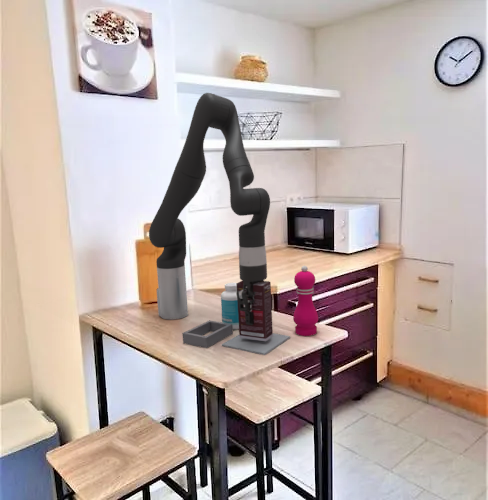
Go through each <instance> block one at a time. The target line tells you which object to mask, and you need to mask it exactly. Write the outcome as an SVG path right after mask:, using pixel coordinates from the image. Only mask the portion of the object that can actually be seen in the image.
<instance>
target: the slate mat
mask: <svg viewBox="0 0 488 500" xmlns="http://www.w3.org/2000/svg"><path fill="white" fill-rule="evenodd" d="M290 339H291V335H285V334H278V333H273V336H272V337H271V338H270V339H269V340H267V341H259V340H252V339H245V338H240V337H239V334H237V335H236V336H234V337H232V338H230V339H229V340H227V341H225V342H223V343H221V347H223V348H224V347H225V348H230V349H233V350H238V351H244V352H247V353H253V354H257V355H263V356H266V355H267V354H269V353H270V352H273V351H274V350H275V349H277V348H278V347H279V346H281V345H282V344H284V343H285V342H287V341H288V340H290Z"/></svg>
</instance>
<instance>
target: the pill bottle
mask: <svg viewBox="0 0 488 500" xmlns="http://www.w3.org/2000/svg"><path fill="white" fill-rule="evenodd" d="M236 283H237V282H227V283H225V284H224V289H225V290H223V291H222V293H221V294H220V302H221V303H220V304H221V307H220V308H221V322H222V323H228V324H232V329H233V330H239V319H238V302H237V294H236V293H237V284H236Z"/></svg>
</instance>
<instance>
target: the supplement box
mask: <svg viewBox="0 0 488 500" xmlns="http://www.w3.org/2000/svg"><path fill="white" fill-rule="evenodd" d="M265 281H266V280H264V281H260V282H257V283H255V284H253V292H256V293H255V304H254V308H253V316H254V324H253V325H247V324H246V322H245V312H244V311H240V309H239V304H238V319H239V329H238V335H239V337H240V338H245V339H252V340H259V341H267V340H269V339H270V338H271V337H272V336H273V313H272V312H273V310H272V287H271V281H269V282H265ZM235 283H236V284H237V291H241V290H243V284H244V282H243V281H242V280H240V281H239V282H235ZM247 299H248V300H250V301H252V299H253V298H252V299H250V298H247ZM237 302H238V299H237ZM248 304H249V308H250V303H248ZM243 307H244V304H243Z"/></svg>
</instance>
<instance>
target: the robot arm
mask: <svg viewBox="0 0 488 500" xmlns="http://www.w3.org/2000/svg"><path fill="white" fill-rule="evenodd" d="M191 117H192V118H191V121H190V125H189V128H188V131H187V135H186V138H185V142H184V144H183V147H182V150H181V153H180V155H179V157H178V160H177V163H176V164H175V168H174V171H173V173H172V176H171V178H170V182H169V184H168V186H167V189H166V191H165V193H164V197H163V199H162V202H161V204H160V206H159V208H158V210H157V212H156V214H155V216H154V218H153V220H152V222H151V224H150V226H149V228H148V229H149V230H148V236H149V241H150V243H151V245H153V246H154V247H155V248H161V249H163V250H162V252H161V254H160V255H159V256H158V257H157V258H156V260H155V261H156V262H155V263H156V275H157V286H158V288H157V289H156V300H157V303H156V304H157V312H158V314H157V315H158V317H160V318H161V319H164V320H180V319H182V318H186V317H188V315H189V310H188V309H189V308H188V307H189V306H188V295H187V294H188V292H187V280H186V279H187V278H186V265H185V264H186V263H185V260H186V257H187V235H186V234H187V232H186V227H185V225H184V223H183V221H182V220H181V219H180V218H179V216H180V215H181V213H182V211H183V210H184V209H185V208H186V206H187V205H188V204H189V203H190V202H191V201H192V200H193V199H194V197H195V196H196V195H197V193H198V191H199V190H200V188H201V185H202V183H203V180H204V179H205V175H206V174H207V173H206V172H207V161H206V156H205V151H204V143H205V138H206V135H207V132H208V130H209V129H210V128H211V129H214V130H215V129H216V130H220V131H221V133H222V134H223V137H224V139H225V144H224V145H225V146H224V148H223V152H222V165H223V168H224V170H225V175H226V177H227V180H228V183H229V184H228V185H229V193H230V196H229V198H230V199H229V200H230V201H229V202H230V208H231V210H232V211H233V213H234V214H236V215H237V216H242V217H243V216H252V217H251V219H250V221H249V222H246V223H243V224H241V225H239V228H238V246H239V247H238V268H239V279H240V281H243V282H244V284H243V290H241V291H237V293H236V294H237V299H238V304H239V309H240V311H244V312H245V322H246V324H247V325H253V324H254V316H253V308H254V304H255V293H256V292H253V284H255V283H257V282H260V281H265V282H270V281H269V280H267V278H268V268H267V267H268V266H267V265H268V263H267V250H266V240H265V239H266V238H265V237H266V235H265V230H266V224H267V221H268V216H269V212H270V207H271V197H270V194H269V193H268V191H267V189H265V188H262V187H253V188H252V187H251V188H247V187H248V186H250V185H251V184H252V183H253V182H254V179H255V175H254V171H253V168H252V166H251V163H250V161H249V157H248V156H247V154H246V150H245V147H244V142H243V135H242V131H241V130H242V129H241V125H240V120H239V115H238V110H237V107H236V105H235V103H234V101H232V100H231V99H229V98H227V97H223V96H221V95H217V94H215V93H212V92H204V93H203V94H202V95H200V97H199V98H198V100H197V103H196V104H195V107H194V110H193V115H192V116H191ZM247 298H250V299H252V298H253V299H252V301H250V300H248V299H247ZM248 303H250V308H249V304H248ZM243 304H244V307H243Z"/></svg>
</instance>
